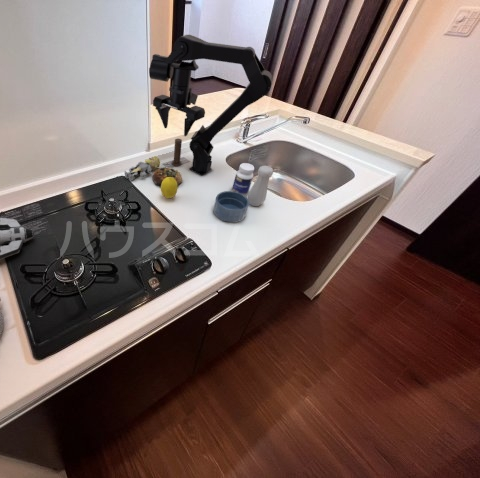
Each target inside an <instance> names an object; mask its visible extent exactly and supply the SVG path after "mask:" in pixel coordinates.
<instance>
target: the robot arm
mask: <svg viewBox="0 0 480 478" xmlns="http://www.w3.org/2000/svg"><path fill="white" fill-rule="evenodd" d="M196 60H208V61H215V62H223V63H230V64H237V65H241V66H242V68H243V71H244V73H245V75H246V78H247V80H248V84H247V86H245V88H244V90H243V91H242V92H241V94H240V95H239V96H237V98H236V99H235V100H233V102H232V103H231V104H230V105H229V106H228V107H227V108H226V109H224V111H223V112H222V113H220V115H219V116H217V117H216V119H214V120H213V121H212V122H211V124H209V125H207V126H206V127H205V126H204V124H202V125H201V127H200V128H199V129H198V130H197V131H195V132H193V135H192V136H191V137H190V141H189V150H190V151H191V152H192V165H191V167H189V169H188V170H189V171H191V172H193V173H195V174H197V175H200V176H204V175H206V174H208V173H210V172H211V171H212V170H213V168H212V164H213V161H212V158H213V157H212V155H211V154H212V151H213V150H214V145H213V144H212V143H211V142H212V141H213V140H214V138H215V136H217V134H219V133H220V132H221V131H222V130H223V129H224V128H226V126H228V125H229V123H231V121H233V120H234V119H235V118H236V117H237V116H238V115H239V114H240V113H241V112H243V110H244V109H246V108H247V107H248V106H250V105H252V104H254V103H256V102H258V101H260V100H261V99H262V98H263V97H265V96H267V95H268V93H269V92H270V90H271V88H272V85H273V80H274V79H273V74H272V73H271V72H270V71H269V70H267V69H265V67H264V65H263V63H262V62H261V60H260V59H259V57H258V55H257V54H256V50H255V49H254V48H253V47H252V46H241V45H240V46H238V45H232V44H223V43H216V42H209V41H206V40H204V39H201V38H200V37H197V36H194V35H192V34H184V35H181V36H180V37H178V38H176V40H175V41H174V43H173V48H172V51H171V52H170V53H169V55H168V56H167V55H160V54H158V53H153V55H152V57H151V62H150V63H149V64H150V65H149V68H148V75H149V78H150V79H151V80H154V81H155V80H156V81H159V82H167V83H168V82H169V81H170V80H171V81H172V82H171V86H169V89H168V91H169V92H170V96H169V95H166V94H161V95H160V94H159V95H157V96H154V98H153V99H152V106H153V107H155V110H156V111H157V113H158V115H159V118H160V119H161V123H162V126H163V128H164V129H168V125H169V114H170V111H171V109H174V110H177V111H179V112H182V113H184V114H185V118H184V123H183V124H184V126H183V127H184V129H183V134H184V135H183V136H184V137H187V136H188V134H189V132H190V131H191V129H192V127H193V126H194V123H195V122H197V121H199V120H202V119H203V118H205V115H206V111H205V110H206V109H205V108H204V107H202V106H199V105H196V103H197V100H198V97H199V95H198V94H196V93H193V92H192V87H190V85H191V79H192V78H191V77H192V71H193V72H196V71H197V70H198V69H199V65H198V64H197V63H196ZM177 61H179V62H180V63H177ZM189 61H190V62H189ZM191 105H193V106H191ZM189 106H191V107H189Z"/></svg>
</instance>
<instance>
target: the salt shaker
mask: <svg viewBox="0 0 480 478" xmlns="http://www.w3.org/2000/svg"><path fill="white" fill-rule="evenodd" d="M273 174H274V169H273V168H272V167H271V166H269V165H261V166H259V168H258V169H257V178H256V179H255V182H254V183H253V185H251V186H252V187H250V189H249V191H248V194H247V199H248V200H249V206H252V207H259V206H260V205H262V204H264V202H265V201H266V200H267V193H268V188H269V181H270V178H271V177H272V176H273Z"/></svg>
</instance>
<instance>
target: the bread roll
mask: <svg viewBox="0 0 480 478" xmlns="http://www.w3.org/2000/svg"><path fill="white" fill-rule="evenodd" d="M167 177H172V178H174V179H175V180H176V182H177V186H178V185H181V184H182V182H183V175H182V174H181V172H180V171H179V170H178V169H174V168H173V167H171V168H170V167H166V166H164V167H159V168H157V169H155V171H153V173H152V180H153V182H154V183H155V185H157V186H158V187H161V183H162V181H163V180H164V179H165V178H167Z"/></svg>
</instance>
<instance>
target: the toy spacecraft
mask: <svg viewBox="0 0 480 478" xmlns="http://www.w3.org/2000/svg"><path fill="white" fill-rule="evenodd" d="M34 237H35V233H34V230H33V229H29V228H26V227H24V226H22V225H21V224H20V223H19V222H18V221H17V219H13V218H5V217H0V260H3V259H5V258H8V257H11V256H13V255H16V254H19V253H20V251H21V249H22V248H23V245H24V244H25V243H26V242H28V241H30V240H32V239H34ZM23 243H24V244H23ZM4 244H8V245H4Z"/></svg>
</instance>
